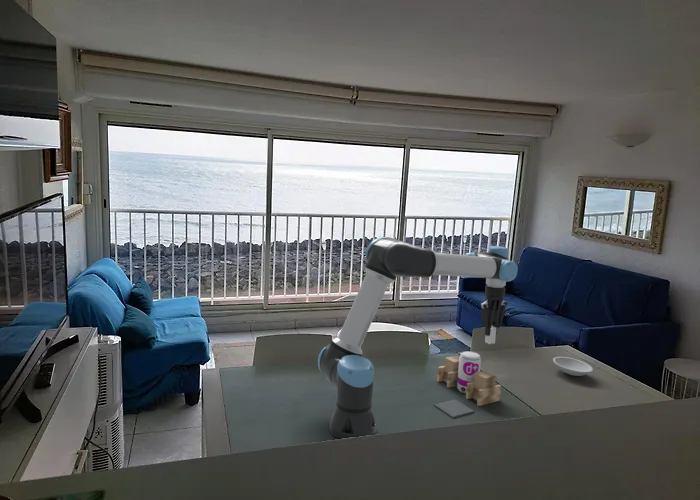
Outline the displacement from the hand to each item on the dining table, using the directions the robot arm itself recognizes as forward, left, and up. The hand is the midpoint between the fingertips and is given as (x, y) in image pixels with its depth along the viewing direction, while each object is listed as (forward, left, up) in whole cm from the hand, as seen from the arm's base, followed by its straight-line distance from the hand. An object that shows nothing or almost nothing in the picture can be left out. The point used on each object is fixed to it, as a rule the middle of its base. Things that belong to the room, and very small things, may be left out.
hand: (489, 342), depth 196 cm
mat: (-26, -10, -18) cm, 33 cm away
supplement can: (-10, 0, -19) cm, 21 cm away
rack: (-10, 0, -18) cm, 21 cm away
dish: (+45, -7, -19) cm, 49 cm away
